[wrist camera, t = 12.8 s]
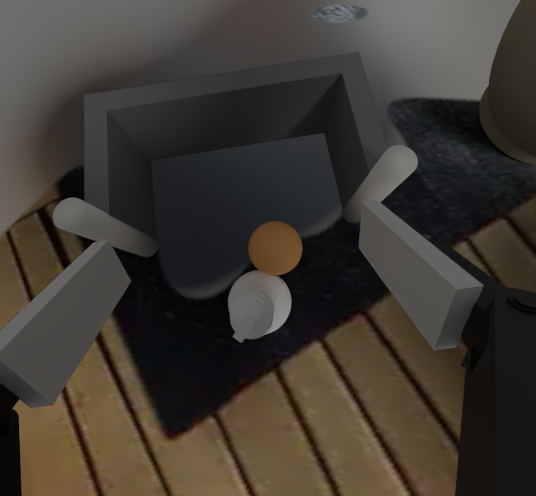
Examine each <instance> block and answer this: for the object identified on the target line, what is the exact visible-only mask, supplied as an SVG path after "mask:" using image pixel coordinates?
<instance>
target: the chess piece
mask: <svg viewBox="0 0 536 496" xmlns="http://www.w3.org/2000/svg"><path fill="white" fill-rule="evenodd" d="M228 308H229V313H230V322H231V325H232V328H233V329H234V331H235V334H234V335H233V338H235V339H236V340H238V341H239V342H241V343H242V341H243V340H244V338H246V339H257V338H260V337H262V336H263V335H265V334H269V333H271V332H274V331H275V330H277V329H278V328H280V327H281V326H282V325H283V323H284V322H285V321H286V319H287V318H288V316H289V313H290V310H291V295H290V291H289V289H288V287H287V285H286V283H285V282H284V281H283V280H282V279H281V278H280V277H279V276H277V275H269V274H266V273H263V272H262V271H260V270H255V271H251V272H248V273H246V274H244V275H242V276H241V277H240V278H239V279H238V280H237V281H236V282H235V283H234V285H233V286H232V288H231V290H230V293H229V298H228Z"/></svg>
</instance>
